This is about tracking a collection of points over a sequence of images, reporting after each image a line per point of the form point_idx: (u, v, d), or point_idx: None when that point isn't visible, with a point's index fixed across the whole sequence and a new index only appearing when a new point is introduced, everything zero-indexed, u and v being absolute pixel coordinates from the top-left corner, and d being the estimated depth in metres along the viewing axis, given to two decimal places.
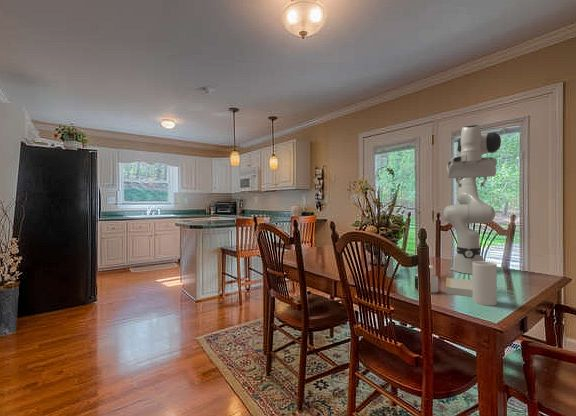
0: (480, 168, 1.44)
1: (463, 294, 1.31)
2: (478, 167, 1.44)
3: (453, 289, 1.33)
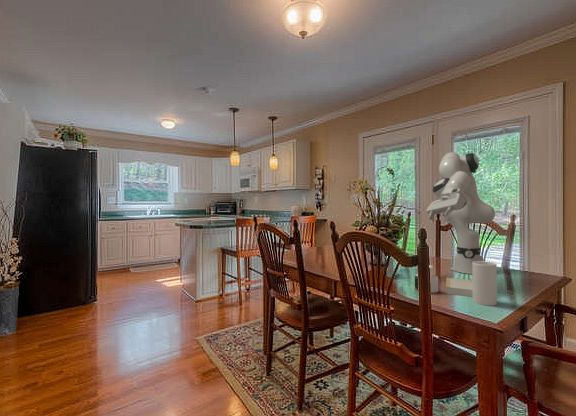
0: None
1: (463, 294, 1.31)
2: None
3: (453, 289, 1.33)
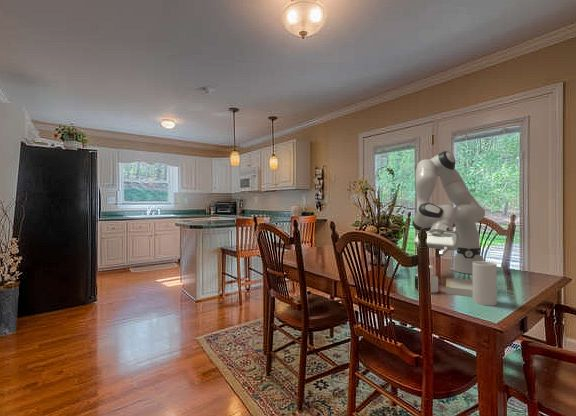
0: None
1: (463, 294, 1.31)
2: None
3: (453, 289, 1.33)
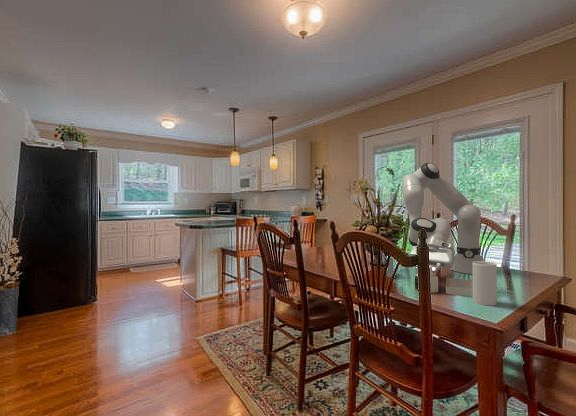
0: None
1: (463, 294, 1.31)
2: None
3: (453, 289, 1.33)
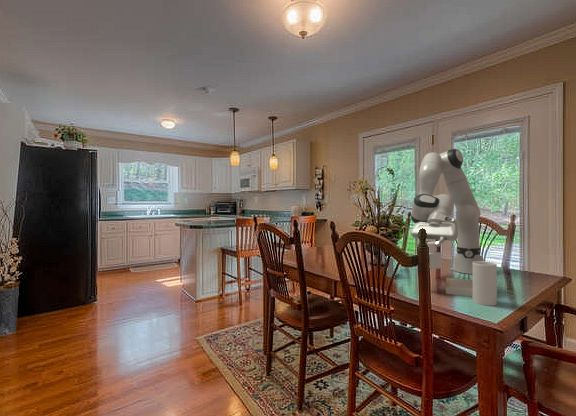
0: None
1: (463, 294, 1.31)
2: None
3: (453, 289, 1.33)
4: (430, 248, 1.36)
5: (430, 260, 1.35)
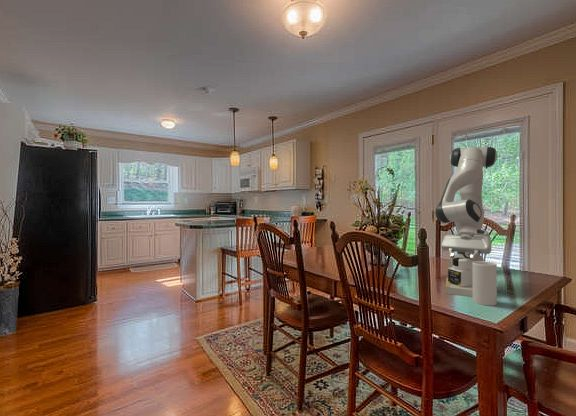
0: None
1: (463, 294, 1.31)
2: None
3: (453, 289, 1.33)
4: (461, 265, 1.35)
5: (461, 278, 1.34)
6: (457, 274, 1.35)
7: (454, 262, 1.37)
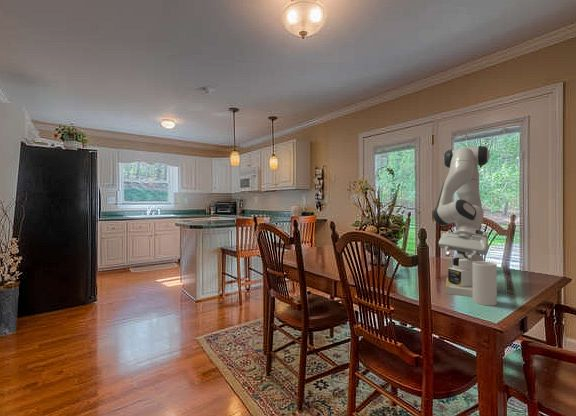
0: None
1: (463, 294, 1.31)
2: None
3: (453, 289, 1.33)
4: (462, 265, 1.35)
5: (462, 277, 1.34)
6: (458, 274, 1.35)
7: (454, 262, 1.37)
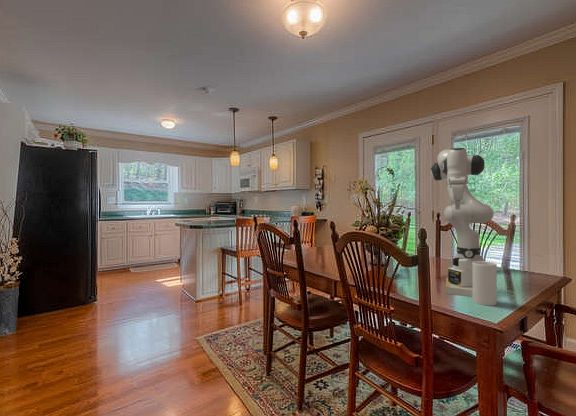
0: None
1: (463, 294, 1.31)
2: None
3: (453, 289, 1.33)
4: (461, 265, 1.35)
5: (461, 277, 1.34)
6: (458, 274, 1.35)
7: (454, 262, 1.37)
